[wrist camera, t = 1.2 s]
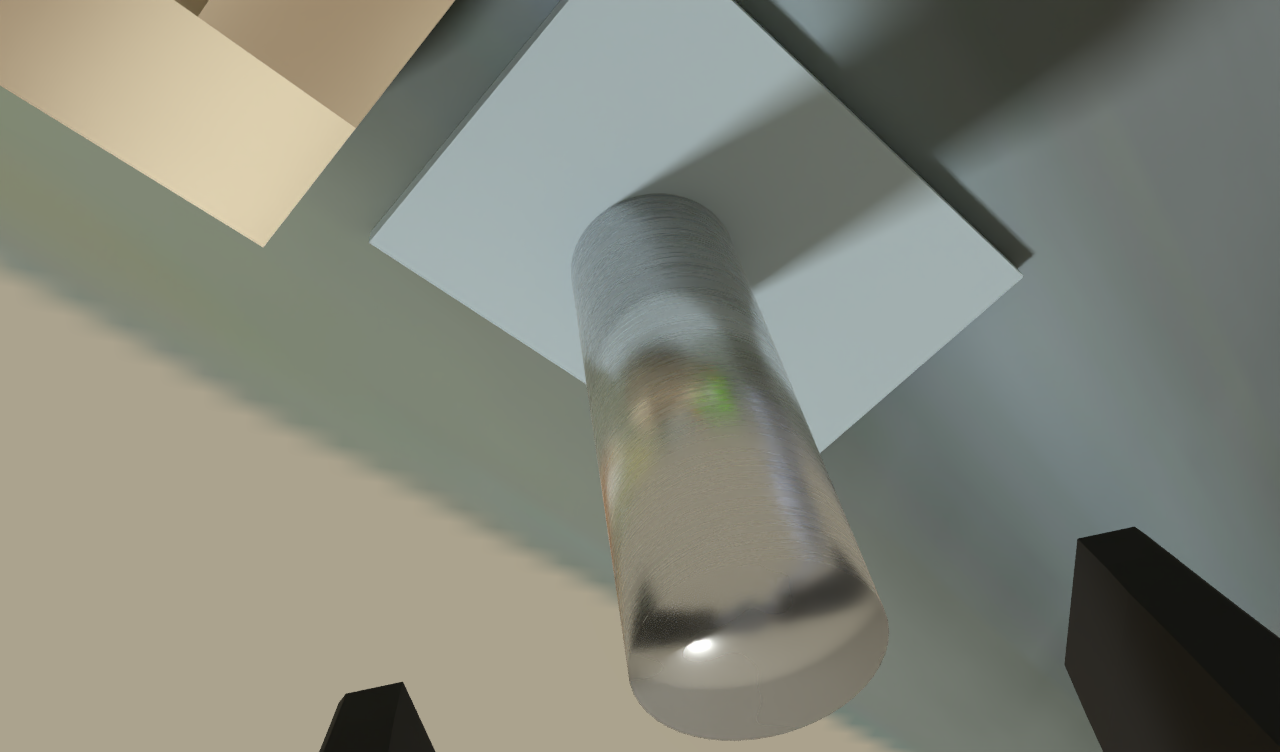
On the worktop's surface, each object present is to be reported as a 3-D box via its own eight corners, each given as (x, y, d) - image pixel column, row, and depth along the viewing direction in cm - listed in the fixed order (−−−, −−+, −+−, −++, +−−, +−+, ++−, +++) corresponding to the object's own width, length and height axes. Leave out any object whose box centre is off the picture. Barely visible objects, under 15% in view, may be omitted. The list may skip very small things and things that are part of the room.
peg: (761, 220, 19) (936, 587, 12) (696, 354, 21) (816, 755, 13) (604, 172, 18) (689, 538, 11) (548, 316, 20) (590, 722, 12)
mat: (1015, 266, 21) (1023, 276, 21) (761, 488, 23) (765, 500, 23) (636, -92, 16) (640, -87, 16) (370, 232, 19) (369, 242, 19)
